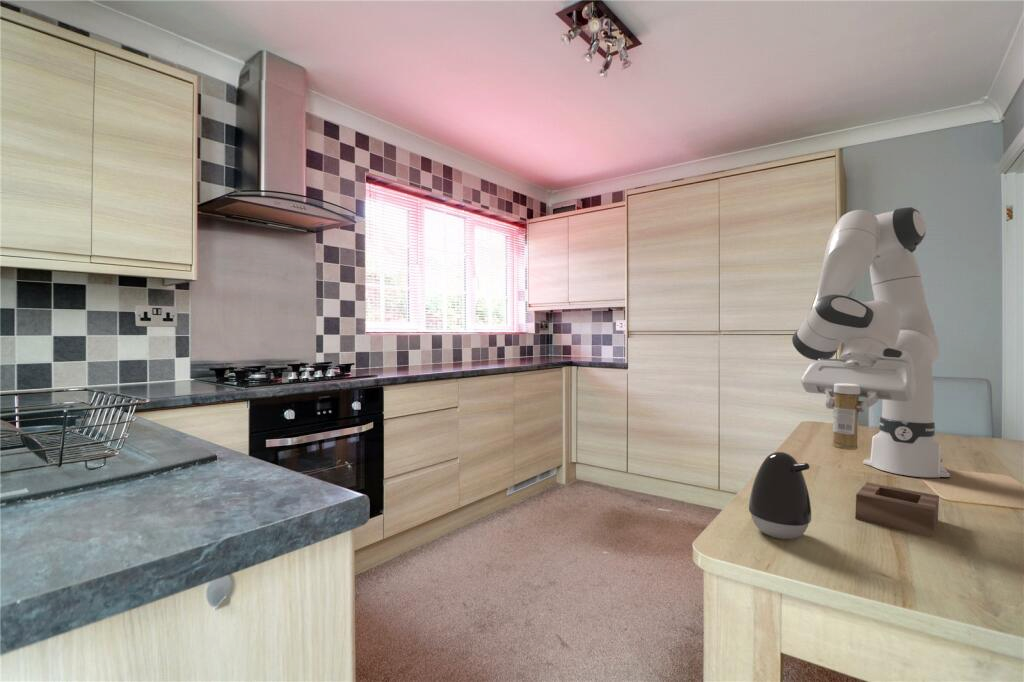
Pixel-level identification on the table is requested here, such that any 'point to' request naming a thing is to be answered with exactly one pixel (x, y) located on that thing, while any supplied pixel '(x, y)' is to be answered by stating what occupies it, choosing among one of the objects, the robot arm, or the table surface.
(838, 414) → the sprinkles bottle
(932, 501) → the spice caddy
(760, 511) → the pump dispenser
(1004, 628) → the table surface
